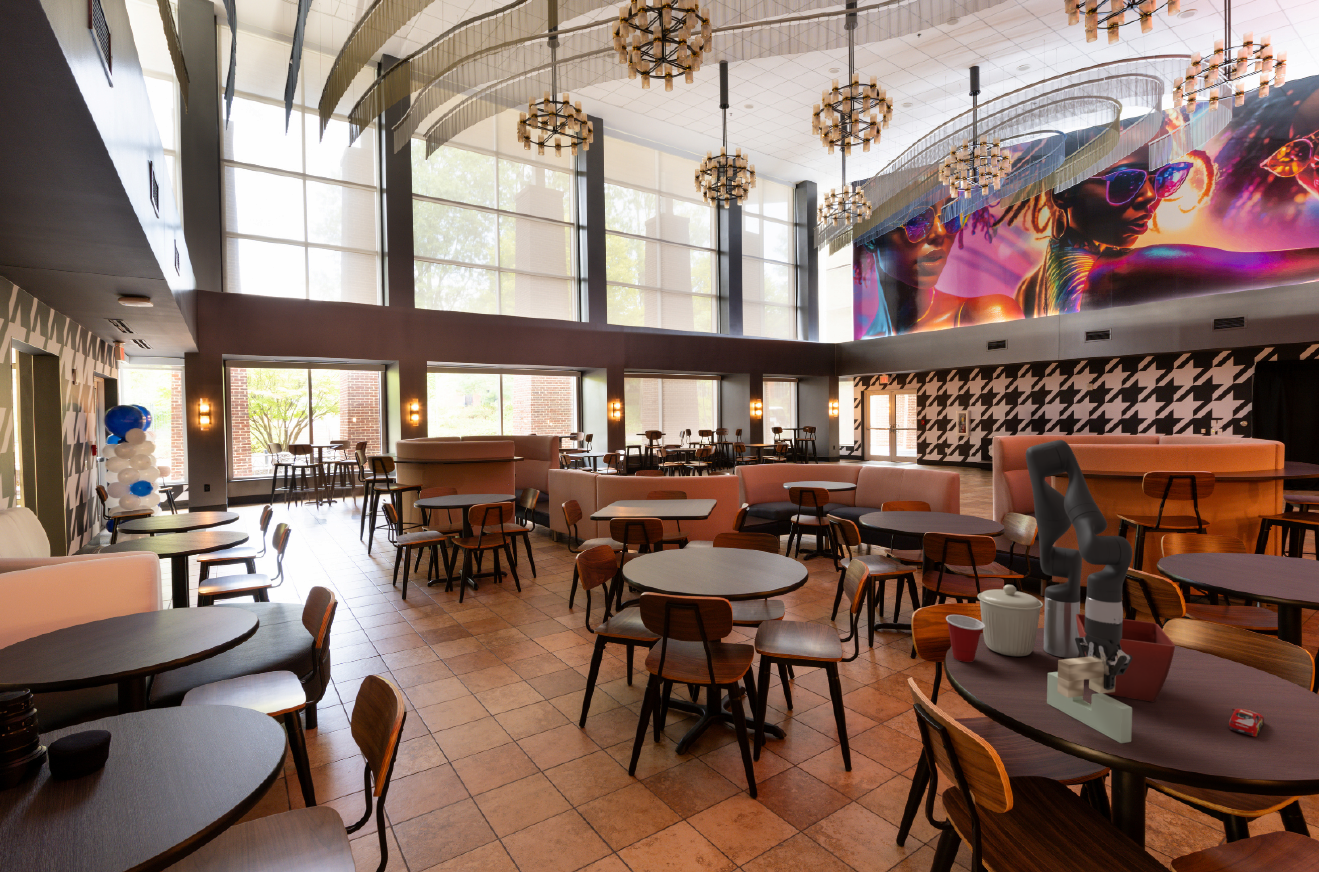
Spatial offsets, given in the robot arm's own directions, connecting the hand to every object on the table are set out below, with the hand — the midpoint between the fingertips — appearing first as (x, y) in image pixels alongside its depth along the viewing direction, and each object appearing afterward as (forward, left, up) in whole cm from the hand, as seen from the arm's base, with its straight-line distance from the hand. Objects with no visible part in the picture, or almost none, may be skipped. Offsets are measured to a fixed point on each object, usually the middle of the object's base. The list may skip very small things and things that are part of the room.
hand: (1101, 685), depth 151 cm
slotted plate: (+4, -2, -1) cm, 5 cm away
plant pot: (-24, -4, -9) cm, 26 cm away
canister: (-26, -35, -9) cm, 45 cm away
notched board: (+4, -1, -8) cm, 10 cm away
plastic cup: (-8, -39, -9) cm, 41 cm away
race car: (-25, +21, -9) cm, 34 cm away
